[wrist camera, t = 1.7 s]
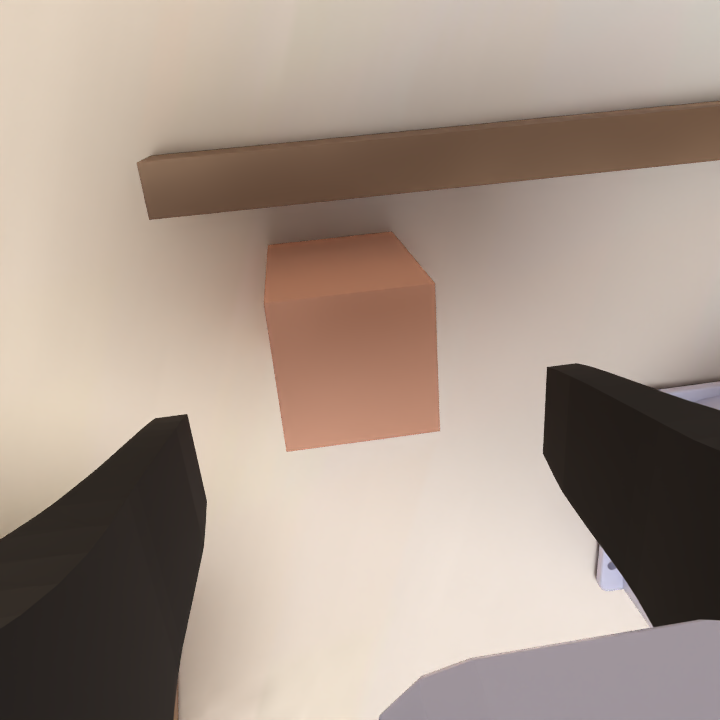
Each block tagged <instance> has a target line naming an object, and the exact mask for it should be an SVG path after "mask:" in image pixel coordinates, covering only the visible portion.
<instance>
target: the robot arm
mask: <svg viewBox="0 0 720 720" xmlns="http://www.w3.org/2000/svg"><path fill="white" fill-rule="evenodd" d="M543 454H544V456H545V458H546V461H547V463H548V465H549V467H550V469H551V471H552V473H553V475H554V477H555V479H556V481H557V483H558V484H559V486H560V488H561V490H562V492H563V493H564V495H565V496H566V498H567V499H568V501H569V502H570V504H571V505H572V507H573V508H574V509H575V511H576V512H577V514H578V515H579V516H580V518H581V519H582V521H583V522H584V524H585V525H586V526H587V528H588V529H589V530H590V532H591V533H592V535H593V536H594V537H595V539H596V540H597V542H598V543H599V544H600V547H599V557H598V568H597V578H596V580H597V583H598V585H599V586H600V587H601V589H602V590H605V591H613V590H619V589H624V591H625V592H626V593H627V595H628V596H629V598H630V599H631V601H632V602H633V603H634V605H635V606H636V608H637V609H638V611H639V612H640V613H641V615H642V616H643V618H644V619H645V621H646V622H647V623H648V625H649V626H650V628H647V629H641V630H635V631H629V632H623V633H617V634H611V635H605V636H599V637H594V638H588V639H582V640H576V641H570V642H564V643H558V644H552V645H546V646H540V647H534V648H528V649H522V650H516V651H510V652H505V653H499V654H493V655H487V656H481V657H475V658H470V659H467V660H464V661H461V662H459V663H456V664H453V665H450V666H448V667H445V668H442V669H440V670H437V671H434V672H431V673H429V674H426V675H423V676H421V677H420V678H419V679H418V680H417V681H416V682H415V683H414V684H412V685H411V686H410V687H409V688H408V689H407V690H406V691H405V692H404V693H403V694H402V695H401V696H399V697H398V698H397V699H396V700H395V701H394V702H393V703H392V704H391V705H390V706H389V707H388V708H387V709H386V710H385V711H384V712H383V713H382V714H381V715H380V717H379V720H720V381H719V382H711V383H704V384H697V385H689V386H682V387H674V388H667V389H660V390H656V389H654V388H651V387H648V386H645V385H642V384H640V383H637V382H634V381H631V380H628V379H626V378H623V377H620V376H617V375H614V374H612V373H609V372H606V371H603V370H600V369H597V368H593V367H590V366H586V365H582V364H577V363H575V364H568V365H560V366H552V367H547V380H546V401H545V422H544V443H543ZM206 507H207V500H206V495H205V491H204V487H203V482H202V478H201V473H200V469H199V464H198V460H197V455H196V451H195V447H194V442H193V438H192V433H191V429H190V424H189V420H188V416H187V414H185V415H177V416H170V417H162V418H155V419H154V420H152V421H151V422H150V423H148V424H147V425H146V426H145V427H144V428H142V429H141V430H140V431H139V432H138V433H137V434H136V435H135V436H133V437H132V438H131V439H130V440H129V441H128V442H127V443H126V444H125V445H123V446H122V447H121V448H120V449H119V450H118V451H117V452H116V453H114V454H113V455H112V456H111V457H110V458H109V459H108V460H107V461H105V462H104V463H103V464H102V465H101V466H100V467H99V468H97V469H96V470H95V471H94V472H93V473H91V474H90V475H89V476H88V477H86V478H85V479H84V480H83V481H81V482H80V483H79V484H78V485H76V486H75V487H74V488H73V489H72V490H70V491H69V492H68V493H67V494H65V495H64V496H63V497H62V498H60V499H59V500H58V501H56V502H55V503H54V504H52V505H51V506H50V507H48V508H47V509H45V510H44V511H43V512H41V513H40V514H38V515H37V516H36V517H34V518H32V519H31V520H29V521H28V522H26V523H25V524H23V525H22V526H20V527H19V528H17V529H16V530H14V531H13V532H11V533H10V534H8V535H6V536H5V537H3V538H2V539H0V720H173V719H174V709H175V700H176V690H177V680H178V671H179V665H180V659H181V653H182V647H183V643H184V638H185V633H186V629H187V624H188V619H189V615H190V610H191V605H192V601H193V596H194V591H195V587H196V582H197V577H198V572H199V567H200V563H201V558H202V553H203V548H204V538H205V525H206ZM610 561H612V562H611V563H609V562H610Z"/></svg>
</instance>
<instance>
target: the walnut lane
mask: <svg viewBox="0 0 720 720" xmlns="http://www.w3.org/2000/svg"><path fill="white" fill-rule="evenodd" d="M715 160H720V101H713V102H703V103H693V104H682V105H672V106H661V107H651V108H641V109H630V110H620V111H610V112H599V113H589V114H579V115H568V116H558V117H548V118H537V119H527V120H517V121H506V122H496V123H485V124H475V125H465V126H454V127H444V128H434V129H423V130H413V131H403V132H392V133H382V134H372V135H361V136H351V137H341V138H330V139H320V140H310V141H299V142H289V143H278V144H268V145H258V146H247V147H237V148H227V149H216V150H206V151H196V152H185V153H175V154H165V155H154V156H150V157H148V158H145V159H143V160H141V161H139V162H137V166H138V171H139V175H140V180H141V184H142V189H143V193H144V198H145V203H146V207H147V212H148V216H149V220H152V219H162V218H171V217H181V216H190V215H200V214H209V213H219V212H228V211H238V210H248V209H257V208H267V207H276V206H286V205H295V204H305V203H314V202H324V201H333V200H343V199H353V198H362V197H372V196H381V195H391V194H400V193H410V192H419V191H429V190H439V189H448V188H458V187H467V186H477V185H486V184H496V183H505V182H515V181H524V180H534V179H544V178H553V177H563V176H572V175H582V174H591V173H601V172H610V171H620V170H630V169H639V168H649V167H658V166H668V165H677V164H687V163H696V162H706V161H715Z"/></svg>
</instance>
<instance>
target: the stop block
mask: <svg viewBox="0 0 720 720" xmlns="http://www.w3.org/2000/svg"><path fill="white" fill-rule="evenodd" d="M264 308H265V314H266V321H267V327H268V334H269V340H270V347H271V353H272V360H273V366H274V373H275V379H276V386H277V392H278V399H279V405H280V412H281V418H282V425H283V431H284V438H285V444H286V451H287V452H288V451H296V450H303V449H311V448H318V447H325V446H333V445H340V444H347V443H355V442H362V441H370V440H377V439H384V438H392V437H399V436H406V435H414V434H421V433H429V432H436V431H440V420H439V390H438V361H437V331H436V301H435V283H434V282H433V281H432V279H431V278H430V277H429V276H428V275H427V273H426V272H425V271H424V270H423V269H422V267H421V266H420V265H419V264H418V262H417V261H416V260H415V259H414V258H413V256H412V255H411V254H410V253H409V252H408V250H407V249H406V248H405V247H404V246H403V244H402V243H401V242H400V241H399V240H398V238H397V237H396V236H395V235H394V234H393V232H383V233H373V234H364V235H355V236H346V237H337V238H328V239H318V240H309V241H300V242H291V243H282V244H273V245H268V252H267V266H266V280H265V294H264Z"/></svg>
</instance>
